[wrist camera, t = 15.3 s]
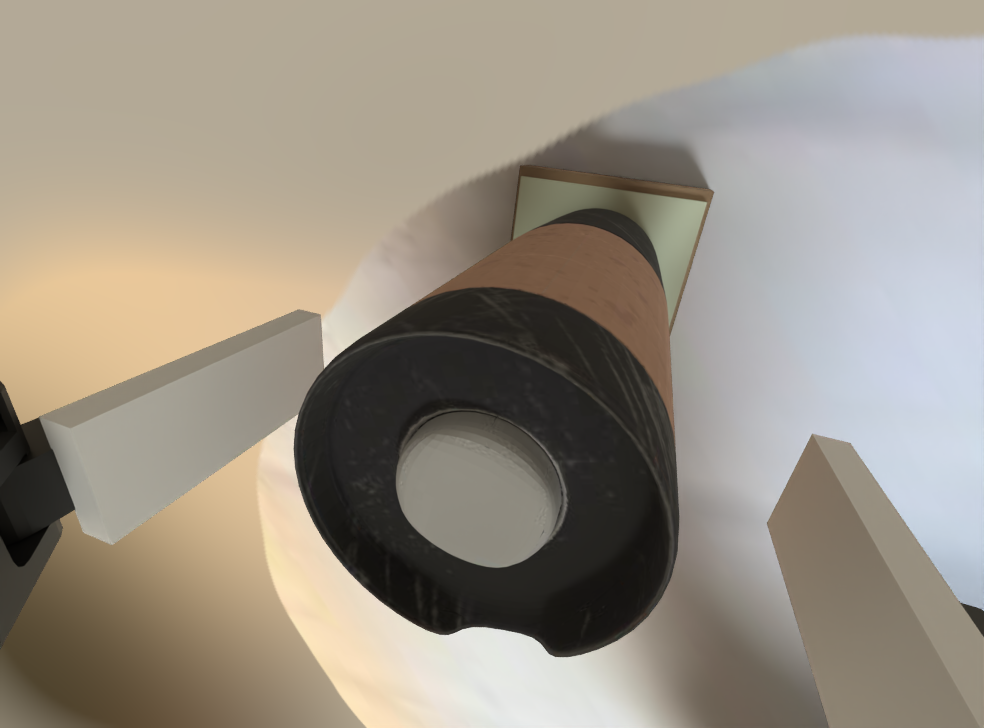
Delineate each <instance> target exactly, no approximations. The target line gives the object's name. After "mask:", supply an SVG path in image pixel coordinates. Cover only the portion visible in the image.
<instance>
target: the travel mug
mask: <svg viewBox="0 0 984 728" xmlns="http://www.w3.org/2000/svg"><path fill="white" fill-rule="evenodd" d="M294 459H295V469H296V474H297V479H298V484H299V487H300V490H301V493H302V496H303V499H304V502H305V505H306V507H307V509H308V512H309V514H310V516H311V518H312V520H313V522H314V524H315V526H316V528H317V529H318V531H319V533H320V534H321V536H322V538H323V540H324V541H325V542H326V544H327V545H328V547H329V548H330V549H331V551H332V552H333V554H334V555H335V556H336V557H337V559H338V560H339V561H340V562H341V563H342V565H343V566H344V567H345V568H346V569H347V570H348V572H349V573H350V574H351V575H352V576H353V577H354V578H355V579H356V580H357V581H358V582H359V583H360V584H361V585H362V586H363V587H364V588H366V589H367V590H368V591H369V592H370V593H371V594H373V595H374V596H375V597H376V598H377V599H378V600H380V601H381V602H382V603H384V604H385V605H386V606H388V607H389V608H391V609H392V610H393V611H395V612H396V613H397V614H399V615H401V616H402V617H404V618H405V619H407V620H409V621H410V622H412V623H414V624H416V625H417V626H419V627H421V628H423V629H425V630H427V631H430V632H433V633H436V634H439V635H449V634H452V633H455V632H457V631H460V630H462V629H466V628H470V627H487V628H494V629H501V630H506V631H511V632H516V633H521V634H524V635H527V636H529V637H532V638H534V639H535V640H537V641H538V642H540V643H541V644H542V646H543V647H544V648H545V649H546V651H547V652H548V653H549V654H550V655H553V656H555V657H571V656H576V655H582V654H585V653H588V652H591V651H594V650H597V649H600V648H602V647H604V646H607V645H609V644H611V643H613V642H615V641H617V640H619V639H620V638H622V637H623V636H625V635H626V634H628V633H629V632H631V631H632V630H634V629H635V628H636V627H637V626H638V625H639V624H640V623H641V622H642V621H643V620H644V619H646V618H647V617H648V615H649V614H650V613H651V611H652V610H653V609H654V607H655V606H656V605H657V603H658V602H659V601H660V599H661V598H662V596H663V594H664V591H665V589H666V587H667V585H668V583H669V581H670V579H671V576H672V572H673V568H674V564H675V560H676V556H677V549H678V533H679V504H678V486H677V467H676V452H675V431H674V412H673V393H672V375H671V356H670V338H669V319H668V308H667V300H666V295H665V291H664V286H663V281H662V276H661V271H660V267H659V262H658V258H657V255H656V251H655V249H654V246H653V244H652V242H651V241H650V239H649V237H648V236H647V234H646V233H645V232H644V230H643V229H642V228H641V227H640V226H639V225H638V224H637V223H636V222H634V221H633V220H631V219H630V218H628V217H627V216H625V215H623V214H621V213H618V212H615V211H612V210H608V209H601V208H590V209H582V210H577V211H574V212H571V213H568V214H566V215H563V216H561V217H559V218H556V219H554V220H552V221H550V222H548V223H545V224H543V225H541V226H539V227H537V228H535V229H532V230H530V231H528V232H526V233H525V234H523V235H521V236H519V237H517V238H515V239H514V240H512V241H511V242H509V243H508V244H506V245H505V246H503V247H501V248H500V249H498V250H497V251H495V252H494V253H492V254H491V255H489V256H487V257H486V258H484V259H483V260H481V261H480V262H478V263H477V264H475V265H473V266H472V267H470V268H469V269H467V270H466V271H464V272H463V273H461V274H459V275H458V276H456V277H455V278H453V279H452V280H450V281H449V282H447V283H446V284H444V285H442V286H441V287H439V288H438V289H436V290H435V291H433V292H432V293H430V294H428V295H427V296H425V297H424V298H422V299H421V300H419V301H418V302H416V303H414V304H413V305H411V306H410V307H408V308H407V309H405V310H404V311H402V312H400V313H399V314H397V315H396V316H394V317H393V318H391V319H390V320H388V321H386V322H385V323H383V324H382V325H380V326H379V327H377V328H376V329H374V330H372V331H371V332H369V333H368V334H366V335H365V336H363V337H362V338H360V339H359V340H357V341H356V342H355V343H353V344H352V345H351V346H349V347H348V348H347V349H345V350H344V351H343V352H341V353H340V354H339V355H337V356H336V357H335V358H334V359H333V360H332V361H331V362H330V363H329V364H328V366H327V367H326V368H325V369H324V370H323V371H322V372H321V373H320V374H319V375H318V376H317V378H316V380H315V381H314V383H313V384H312V386H311V387H310V389H309V390H308V392H307V394H306V397H305V399H304V401H303V404H302V406H301V409H300V411H299V415H298V419H297V423H296V428H295V437H294Z"/></svg>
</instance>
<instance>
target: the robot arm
mask: <svg viewBox="0 0 984 728" xmlns="http://www.w3.org/2000/svg"><path fill="white" fill-rule="evenodd" d="M323 370H324V362H323V344H322V327H321V315H320V314H316V313H311V312H308V311H304V310H296V311H294V312H291V313H289V314H287V315H284V316H282V317H279V318H277V319H274V320H272V321H269V322H267V323H265V324H262V325H260V326H257V327H255V328H253V329H250V330H248V331H246V332H243V333H241V334H238V335H236V336H233V337H231V338H228V339H226V340H223V341H221V342H219V343H216V344H214V345H212V346H209V347H206V348H204V349H202V350H199V351H197V352H195V353H192V354H190V355H188V356H185V357H182V358H180V359H177V360H175V361H173V362H170V363H168V364H165V365H163V366H161V367H158V368H156V369H153V370H151V371H148V372H146V373H143V374H141V375H139V376H136V377H134V378H131V379H129V380H127V381H124V382H122V383H119V384H117V385H114V386H112V387H110V388H107V389H105V390H102V391H100V392H97V393H95V394H93V395H90V396H88V397H85V398H83V399H81V400H78V401H76V402H73V403H71V404H68V405H66V406H64V407H61V408H59V409H56V410H54V411H51V412H49V413H47V414H44V415H42V416H39V418H37V419H34V420H32V421H30V422H27V423H24V424H22V425H20V422H19V420H18V417H17V415H16V412H15V410H14V408H13V405H12V403H11V400H10V398H9V396H8V393H7V391H6V388H5V386H4V385H3V384H2V382H1V381H0V649H1V647H2V645H3V643H4V641H5V640H6V638H7V636H8V634H9V632H10V630H11V628H12V627H13V624H14V623H15V621H16V619H17V617H18V615H19V614H20V612H21V610H22V608H23V606H24V604H25V602H26V600H27V599H28V597H29V595H30V593H31V591H32V589H33V587H34V586H35V584H36V582H37V580H38V578H39V576H40V574H41V572H42V571H43V569H44V567H45V565H46V563H47V561H48V559H49V557H50V556H51V554H52V552H53V550H54V548H55V546H56V544H57V543H58V541H59V539H60V537H61V534H62V529H63V527H62V524H61V522H60V518H62V517H63V516H65V515H67V514H68V513H70V512H72V511H73V510H75V512H76V514H77V517H78V520H79V522H80V525H81V527H82V530H83V532H84V533H86V534H88V535H90V536H92V537H95V538H97V539H99V540H102V541H104V542H106V543H108V544H111V545H113V544H114V543H116V542H117V541H118V540H120V539H121V538H123V537H124V536H125V535H127V534H128V533H130V532H131V531H133V530H134V529H135V528H137V527H138V526H140V525H141V524H143V523H144V522H145V521H147V520H148V519H150V518H151V517H152V516H154V515H155V514H157V513H158V512H159V511H161V510H162V509H164V508H165V507H167V506H168V505H170V504H171V503H172V502H174V501H175V500H177V499H178V498H179V497H181V496H182V495H184V494H185V493H187V492H188V491H189V490H191V489H192V488H194V487H195V486H197V485H198V484H199V483H201V482H202V481H204V480H205V479H206V478H208V477H209V476H211V475H212V474H214V473H215V472H216V471H218V470H219V469H221V468H222V467H224V466H225V465H226V464H228V463H229V462H230V461H232V460H233V459H235V458H236V457H238V456H239V455H241V454H242V453H243V452H245V451H246V450H248V449H249V448H251V447H252V446H253V445H255V444H256V443H257V442H259V441H260V440H262V439H263V438H265V437H266V436H268V435H269V434H270V433H272V432H273V431H275V430H276V429H278V428H279V427H280V426H282V425H283V424H285V423H286V422H287V421H289V420H290V419H292V418H293V417H295V416H296V415H297V414H299V411H300V409H301V406H302V404H303V401H304V399H305V397H306V394H307V392H308V390H309V389H310V387H311V386H312V384H313V383H314V381H315V380H316V378H317V376H318V375H319V374H320V373H321V372H322V371H323ZM767 525H768V528H769V532H770V535H771V538H772V541H773V545H774V548H775V551H776V555H777V558H778V561H779V564H780V568H781V571H782V574H783V578H784V581H785V584H786V587H787V591H788V594H789V597H790V601H791V604H792V607H793V610H794V614H795V617H796V620H797V624H798V627H799V630H800V633H801V637H802V640H803V643H804V647H805V650H806V653H807V656H808V660H809V663H810V666H811V670H812V673H813V676H814V679H815V683H816V686H817V689H818V693H819V696H820V699H821V702H822V706H823V709H824V712H825V716H826V719H827V722H828V725H829V728H984V611H983V610H982V609H979V608H976V607H972V606H969V605H966V604H962V603H960V602H959V601H958V599H957V598H956V596H955V595H954V593H953V592H952V590H951V589H950V587H949V586H948V585H947V583H946V582H945V580H944V579H943V577H942V576H941V574H940V573H939V571H938V570H937V569H936V567H935V566H934V564H933V563H932V561H931V560H930V558H929V557H928V555H927V554H926V553H925V551H924V550H923V548H922V547H921V545H920V544H919V542H918V541H917V539H916V538H915V537H914V535H913V534H912V532H911V531H910V529H909V528H908V526H907V525H906V523H905V522H904V521H903V519H902V518H901V516H900V515H899V513H898V512H897V510H896V509H895V507H894V506H893V505H892V503H891V502H890V500H889V499H888V497H887V496H886V494H885V493H884V491H883V490H882V489H881V487H880V486H879V484H878V483H877V481H876V480H875V478H874V477H873V475H872V474H871V473H870V471H869V470H868V468H867V467H866V465H865V464H864V462H863V461H862V459H861V458H860V457H859V455H858V454H857V452H856V451H855V449H854V448H853V446H852V445H851V443H848V442H844V441H839V440H835V439H831V438H827V437H823V436H819V435H815V434H812V435H811V437H810V439H809V441H808V443H807V445H806V447H805V449H804V451H803V453H802V455H801V457H800V459H799V461H798V463H797V465H796V467H795V469H794V471H793V473H792V475H791V477H790V479H789V481H788V483H787V485H786V487H785V489H784V491H783V493H782V495H781V497H780V499H779V501H778V503H777V505H776V507H775V509H774V511H773V512H772V514H771V516H770V518H769V520H768V522H767Z"/></svg>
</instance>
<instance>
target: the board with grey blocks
mask: <svg viewBox="0 0 984 728" xmlns="http://www.w3.org/2000/svg"><path fill="white" fill-rule="evenodd" d="M713 194H714V191H712V190H710V189H704V188H697V187H689V186H682V185H674V184H667V183H659V182H652V181H645V180H637V179H630V178H622V177H615V176H607V175H600V174H592V173H585V172H577V171H570V170H562V169H555V168H547V167H540V166H532V165H523V166H520V171H519V179H518V187H517V195H516V203H515V211H514V219H513V227H512V235H511V241H512V240H514V239H515V238H517V237H519V236H521V235H523V234H525V233H526V232H528V231H530V230H532V229H535V228H537V227H539V226H541V225H543V224H545V223H548V222H550V221H552V220H554V219H556V218H559V217H561V216H563V215H566V214H568V213H571V212H574V211H577V210H582V209H590V208H601V209H608V210H612V211H615V212H618V213H621V214H623V215H625V216H627V217H628V218H630V219H631V220H633V221H634V222H636V223H637V224H638V225H639V226H640V227H641V228H642V229H643V230H644V232H645V233H646V234H647V236H648V237H649V239H650V241H651V242H652V244H653V246H654V249H655V251H656V255H657V258H658V262H659V267H660V271H661V276H662V281H663V286H664V291H665V295H666V300H667V308H668V319H669V337H670V334H671V331H672V327H673V324H674V321H675V317H676V314H677V311H678V308H679V304H680V301H681V298H682V295H683V291H684V288H685V285H686V282H687V278H688V275H689V272H690V269H691V265H692V262H693V259H694V256H695V252H696V249H697V246H698V243H699V239H700V236H701V233H702V230H703V226H704V223H705V220H706V217H707V213H708V210H709V207H710V204H711V200H712V197H713Z"/></svg>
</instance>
